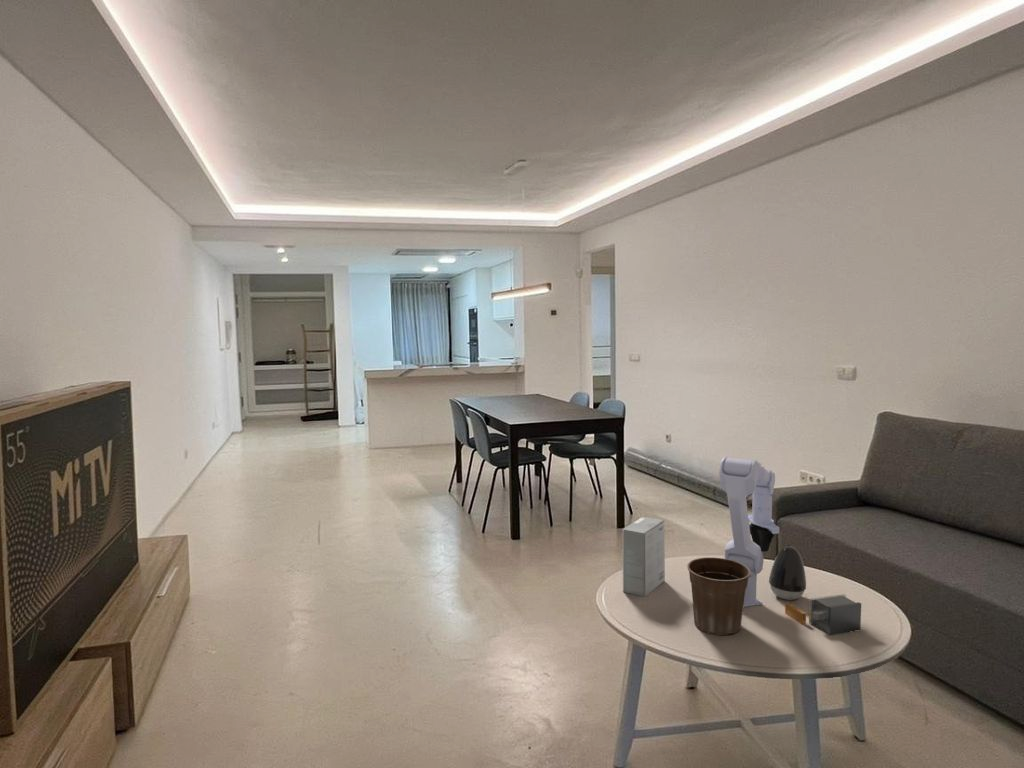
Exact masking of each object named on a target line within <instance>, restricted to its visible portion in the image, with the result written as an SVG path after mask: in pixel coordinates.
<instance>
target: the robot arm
mask: <svg viewBox="0 0 1024 768" xmlns="http://www.w3.org/2000/svg"><path fill="white" fill-rule="evenodd" d="M718 471H719V472H718V475H719V482H720V487H721V490H723V491H724V492H725V493H726V495H727V503H728V509H729V515H730V516H729V518H730V523H731V526H730V527H731V531H732V538H733V539H731V540H729V541H728V542H727V544H726V545H725V548H724V559H729V560H733V561H736V562H739V563H741V564H743V565H745V566H746V567H748V568H749V569H750V572H751V573H750V576H749V577H748V583H747V588H746V589H745V597H744V604H743V608H745V607H752V606H758V605H759V606H760V605H763V604H764V603H763V601H761V600H759V599H758V598H757V579H758V578H757V577H758V576H757V575H758V574H760V573H761V572H762V571H763V567H764V554H763V553H764V552H768V551H769V549H770V545H771V542H772V541H773V538H774V537H775V535H776V534H780V527H779V526H778V525H776V524H775V520H774V519H773V518H772V516H773V515H772V514H773V513H772V511H773V494H774V490H775V483H776V474H775V472H774V471H772V470H770V469H766V468H765V466H762V463H760V462H759V461H758V460H756V459H755V460H749V459H741V458H740V459H739V458H733V457H732V458H731V457H727V456H725V457H723V458H722V459H721V460H720V464H719V470H718ZM751 495H752V511H751V513H752V514H750V513H749V512H748V502H747V498H748V496H751Z"/></svg>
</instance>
